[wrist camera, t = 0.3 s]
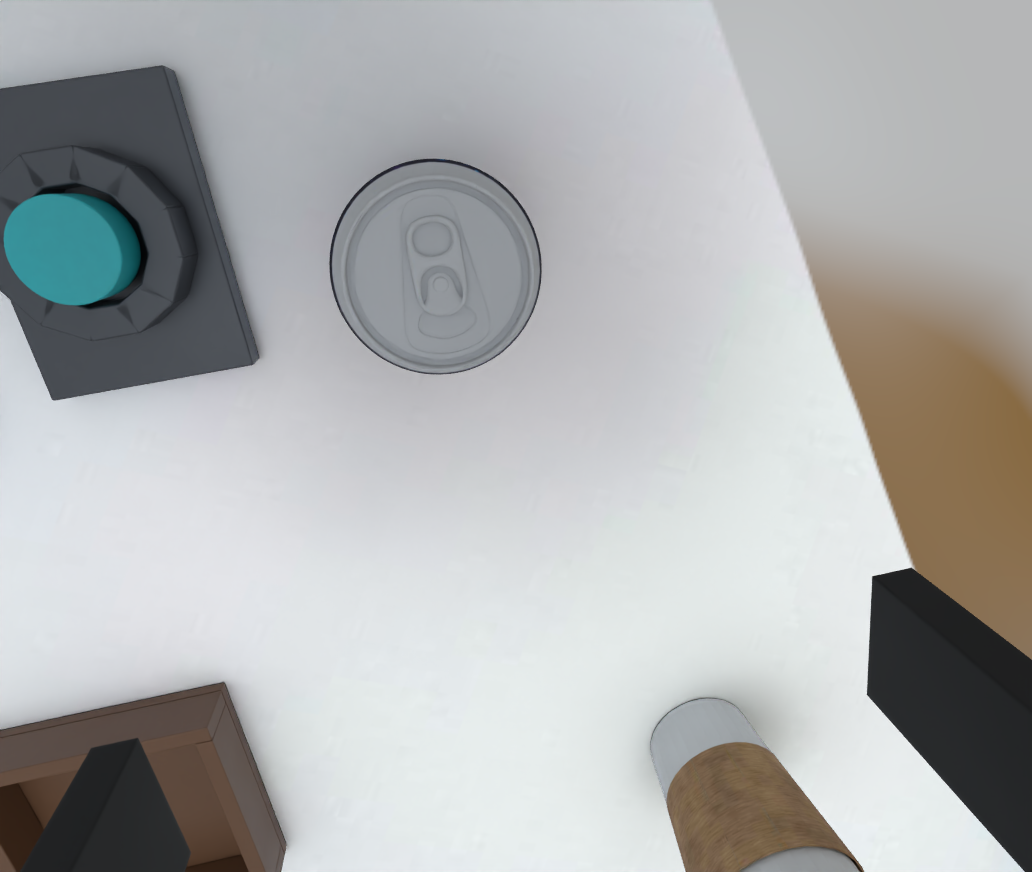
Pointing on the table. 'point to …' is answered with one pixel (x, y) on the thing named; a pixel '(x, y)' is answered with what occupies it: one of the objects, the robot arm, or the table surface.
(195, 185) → the grey base plate
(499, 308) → the beverage can
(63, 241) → the button
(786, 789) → the coffee cup
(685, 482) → the table surface
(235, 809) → the tray
